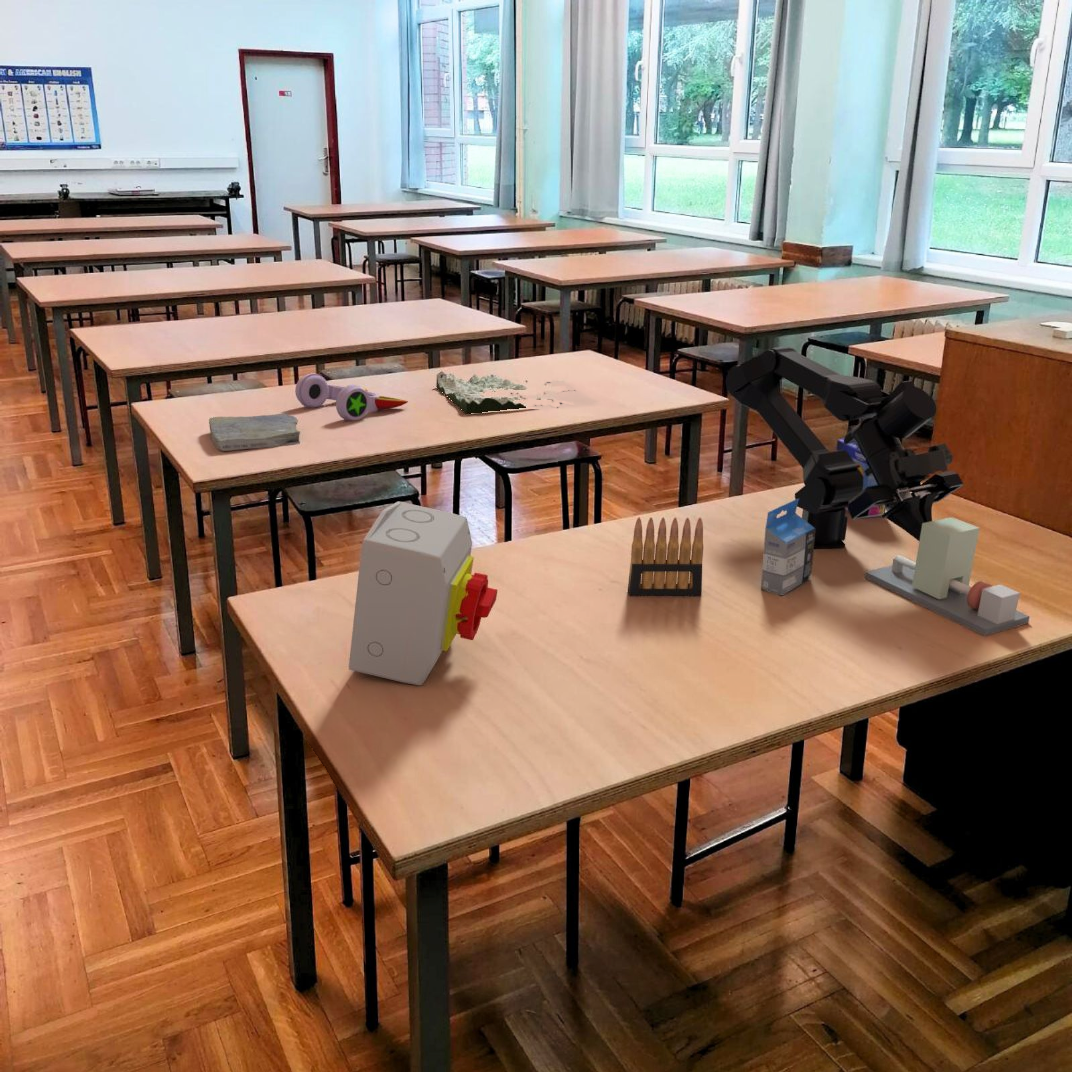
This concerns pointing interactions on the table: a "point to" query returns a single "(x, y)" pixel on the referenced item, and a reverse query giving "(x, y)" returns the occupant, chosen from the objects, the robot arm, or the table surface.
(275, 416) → the fossil
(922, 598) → the grey rail base
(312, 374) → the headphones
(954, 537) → the pale green upright block
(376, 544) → the electrical switch box
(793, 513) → the label tape box
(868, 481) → the ink cartridge box
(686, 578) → the ammunition clip
